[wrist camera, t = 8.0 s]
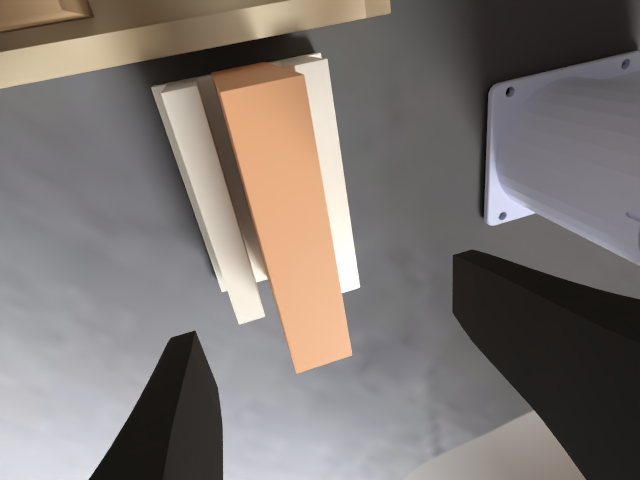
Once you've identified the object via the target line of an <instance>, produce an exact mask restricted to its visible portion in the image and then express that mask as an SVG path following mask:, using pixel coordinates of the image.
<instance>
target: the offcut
mask: <svg viewBox="0 0 640 480" xmlns="http://www.w3.org/2000/svg"><path fill="white" fill-rule="evenodd" d="M93 17H94V14H93V12H92V9H91V6H90V4H89V1H88V0H0V33H6V32H12V31H18V30H23V29H29V28H35V27H41V26H47V25H52V24H58V23H64V22H70V21H76V20H81V19H87V18H93Z"/></svg>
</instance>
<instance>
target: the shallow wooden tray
mask: <svg viewBox="0 0 640 480" xmlns="http://www.w3.org/2000/svg"><path fill="white" fill-rule="evenodd" d="M88 1H89V4H90V6H91V9H92V12H93V14H94V17H93V18H87V19H81V20H76V21H70V22H64V23H58V24H52V25H47V26H41V27H35V28H29V29H23V30H18V31H12V32H6V33H0V88H6V87H11V86H16V85H21V84H26V83H32V82H37V81H42V80H47V79H52V78H58V77H63V76H68V75H73V74H78V73H84V72H89V71H94V70H99V69H104V68H109V67H115V66H120V65H125V64H130V63H135V62H141V61H146V60H151V59H156V58H161V57H167V56H172V55H177V54H182V53H187V52H193V51H198V50H203V49H208V48H213V47H218V46H224V45H229V44H234V43H239V42H244V41H250V40H255V39H260V38H265V37H270V36H276V35H281V34H286V33H291V32H296V31H301V30H307V29H312V28H317V27H322V26H327V25H333V24H338V23H343V22H348V21H353V20H359V19H364V18H369V17H374V16H379V15H385V14H390V13H391V10H390V0H88Z"/></svg>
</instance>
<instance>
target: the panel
mask: <svg viewBox="0 0 640 480" xmlns="http://www.w3.org/2000/svg"><path fill="white" fill-rule="evenodd" d="M211 74H212V78H213V82H214V85H215V89H216V93H217V96H218V100H219V104H220V107H221V111H222V114H223V118H224V122H225V125H226V129H227V133H228V136H229V140H230V143H231V147H232V151H233V154H234V158H235V162H236V165H237V169H238V173H239V176H240V180H241V183H242V187H243V191H244V194H245V198H246V202H247V205H248V209H249V213H250V216H251V220H252V223H253V227H254V231H255V234H256V238H257V242H258V245H259V249H260V252H261V256H262V260H263V263H264V267H265V271H266V274H267V278H268V281H269V285H270V288H271V291H272V294H273V298H274V301H275V304H276V308H277V311H278V314H279V318H280V321H281V324H282V328H283V331H284V334H285V338H286V341H287V344H288V348H289V351H290V354H291V358H292V361H293V364H294V368H295V371H296V374H297V373H300V372H303V371H306V370H309V369H312V368H315V367H318V366H321V365H324V364H327V363H330V362H333V361H336V360H339V359H342V358H345V357H348V356H351V355H352V350H351V345H350V339H349V333H348V327H347V321H346V315H345V310H344V304H343V298H342V292H341V286H340V280H339V274H338V269H337V263H336V257H335V251H334V245H333V239H332V234H331V228H330V222H329V216H328V210H327V204H326V198H325V193H324V187H323V181H322V175H321V169H320V163H319V158H318V152H317V146H316V140H315V134H314V128H313V122H312V117H311V111H310V105H309V99H308V93H307V87H306V82H305V76H304V74H301V73H298V72H295V71H292V70H289V69H286V68H282V67H279V66H276V65H273V64H270V63H267V62H261V63H256V64H251V65H246V66H241V67H236V68H231V69H226V70H221V71H216V72H211Z"/></svg>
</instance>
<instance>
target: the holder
mask: <svg viewBox="0 0 640 480" xmlns="http://www.w3.org/2000/svg"><path fill="white" fill-rule="evenodd" d="M267 63H270V64H273V65H276V66H279V67H282V68H286V69H289V70H292V71H295V72H298V73H301V74H304V76H305V82H306V87H307V93H308V99H309V105H310V111H311V117H312V122H313V128H314V134H315V140H316V146H317V152H318V158H319V163H320V169H321V175H322V181H323V187H324V193H325V198H326V204H327V210H328V216H329V222H330V228H331V234H332V239H333V245H334V251H335V257H336V263H337V269H338V274H339V280H340V286H341V292H342V293H344V292H347V291H350V290H353V289H357V288H360V285H359V278H358V271H357V264H356V257H355V250H354V243H353V236H352V229H351V222H350V215H349V208H348V201H347V194H346V187H345V180H344V173H343V166H342V159H341V152H340V145H339V138H338V131H337V124H336V117H335V110H334V103H333V96H332V89H331V82H330V75H329V67H328V60H327V59H324V58H321V53H312V54H307V55H302V56H297V57H292V58H287V59H282V60H277V61H272V62H267ZM151 90H152V93H153V95H154V98H155V101H156V104H157V107H158V110H159V113H160V115H161V118H162V121H163V124H164V127H165V130H166V133H167V136H168V138H169V141H170V144H171V147H172V150H173V153H174V156H175V159H176V161H177V164H178V167H179V170H180V173H181V176H182V179H183V182H184V184H185V187H186V190H187V193H188V196H189V199H190V202H191V204H192V207H193V210H194V213H195V216H196V219H197V222H198V225H199V227H200V230H201V233H202V236H203V239H204V242H205V245H206V248H207V250H208V253H209V256H210V259H211V262H212V265H213V268H214V271H215V273H216V276H217V279H218V282H219V285H220V288H221V291H222V292H225V291H228V293H229V296H230V299H231V302H232V305H233V308H234V311H235V314H236V317H237V320H238V323H239V324H243V323H246V322H249V321H252V320H256V319H259V318H262V317H265V314H264V310H263V306H262V302H261V298H260V294H259V290H258V286H257V282H259V281H262V280H266V279H268V278H267V274H266V271H265V267H264V263H263V260H262V256H261V252H260V249H259V245H258V242H257V238H256V234H255V231H254V227H253V223H252V220H251V216H250V213H249V209H248V205H247V202H246V198H245V194H244V191H243V187H242V183H241V180H240V176H239V173H238V169H237V165H236V162H235V158H234V154H233V151H232V147H231V143H230V140H229V136H228V133H227V129H226V125H225V122H224V118H223V114H222V111H221V107H220V104H219V100H218V96H217V93H216V89H215V85H214V82H213V78H212V74H208V75H203V76H198V77H193V78H188V79H184V80H179V81H174V82H169V83H164V84H159V85H154V86H152V87H151Z"/></svg>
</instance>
